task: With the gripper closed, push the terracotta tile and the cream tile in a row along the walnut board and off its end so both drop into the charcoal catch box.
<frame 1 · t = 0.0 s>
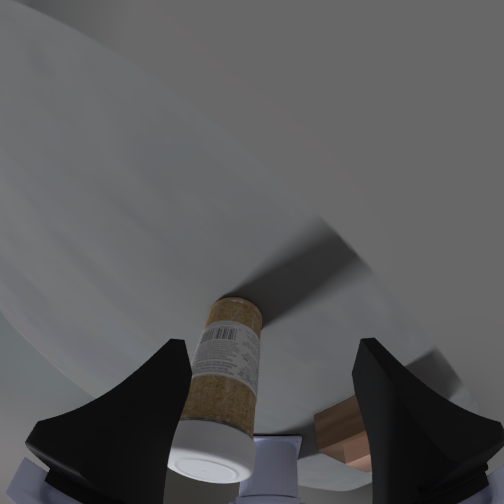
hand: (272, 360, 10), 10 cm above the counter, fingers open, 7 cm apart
walnut board: (374, 417, 26), on the counter
terracotta tile: (372, 441, 21), point 5 cm above the counter, touching walnut board
sprinkles bottle: (236, 316, 22), on the counter
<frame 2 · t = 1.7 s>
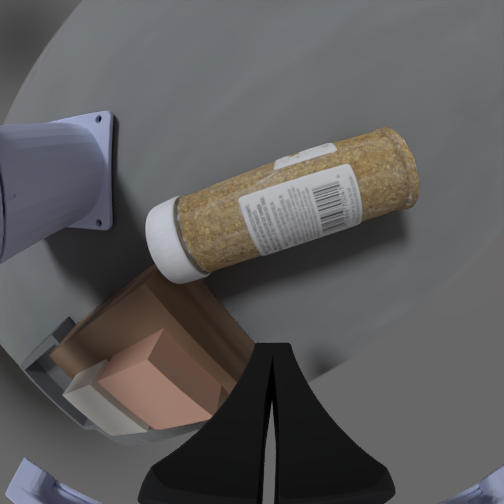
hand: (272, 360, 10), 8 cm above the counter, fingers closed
walnut board: (156, 339, 20), on the counter
terracotta tile: (164, 371, 15), point 5 cm above the counter, touching walnut board
sprinkles bottle: (403, 166, 12), point 2 cm above the counter
cream tile: (113, 390, 16), point 5 cm above the counter, touching walnut board
catch box: (81, 376, 24), on the counter
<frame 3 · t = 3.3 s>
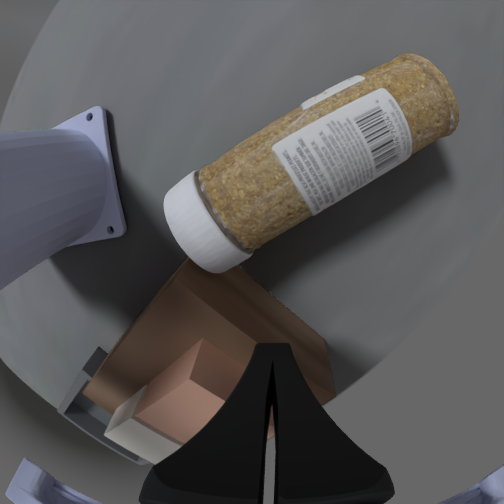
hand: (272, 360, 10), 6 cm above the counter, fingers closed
walnut board: (201, 351, 18), on the counter
terracotta tile: (213, 389, 12), point 5 cm above the counter, touching gripper
sprinkles bottle: (432, 92, 9), point 2 cm above the counter
cream tile: (162, 418, 14), point 5 cm above the counter, touching walnut board
catch box: (125, 410, 22), on the counter
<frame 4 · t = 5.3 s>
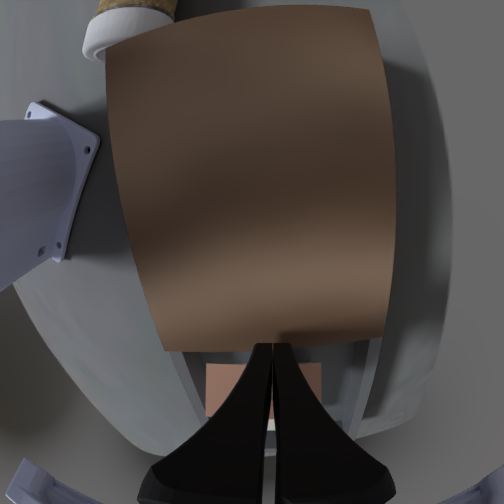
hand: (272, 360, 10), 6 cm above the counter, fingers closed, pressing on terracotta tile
walnut board: (259, 175, 13), on the counter
terracotta tile: (265, 365, 13), point 4 cm above the counter, tilted 44°, touching cream tile, gripper
catch box: (280, 378, 18), on the counter
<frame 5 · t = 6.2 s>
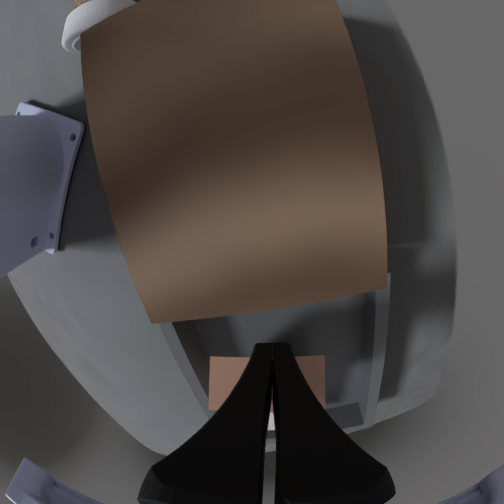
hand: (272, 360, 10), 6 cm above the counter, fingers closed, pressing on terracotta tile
walnut board: (239, 137, 13), on the counter
terracotta tile: (268, 361, 13), point 4 cm above the counter, tilted 41°, touching cream tile, gripper
catch box: (286, 358, 18), on the counter
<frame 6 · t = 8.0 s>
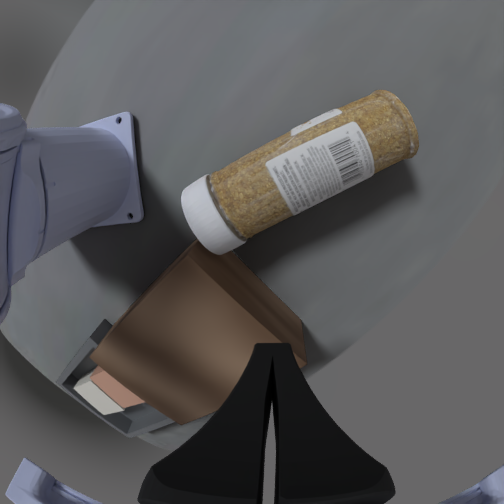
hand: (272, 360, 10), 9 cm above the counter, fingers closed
walnut board: (197, 325, 21), on the counter
terracotta tile: (127, 373, 24), point 1 cm above the counter, touching catch box
sprinkles bottle: (401, 121, 13), point 2 cm above the counter
cream tile: (97, 399, 23), point 3 cm above the counter, tilted 180°, touching catch box
catch box: (121, 381, 26), on the counter
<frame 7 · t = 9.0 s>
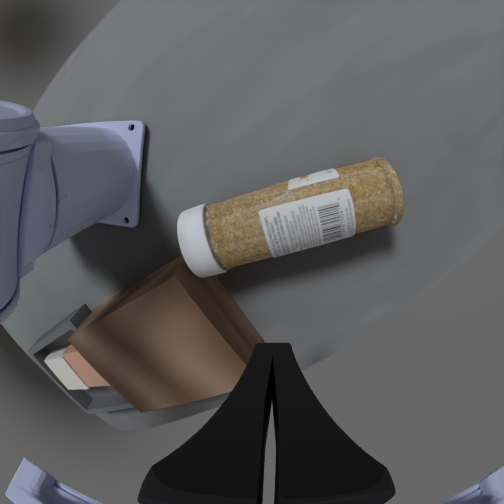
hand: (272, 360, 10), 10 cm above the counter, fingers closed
walnut board: (169, 326, 23), on the counter
terracotta tile: (97, 355, 25), point 1 cm above the counter, touching catch box
sprinkles bottle: (392, 190, 15), point 2 cm above the counter
cream tile: (65, 374, 24), point 3 cm above the counter, tilted 180°, touching catch box
catch box: (89, 361, 26), on the counter
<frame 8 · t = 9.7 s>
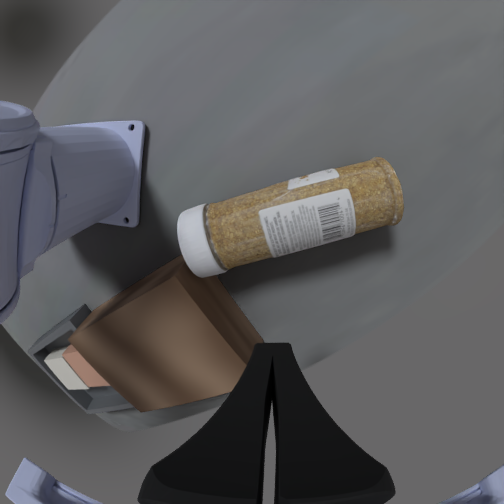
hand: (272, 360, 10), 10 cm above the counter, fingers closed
walnut board: (169, 326, 23), on the counter
terracotta tile: (97, 355, 25), point 1 cm above the counter, touching catch box
sprinkles bottle: (392, 190, 15), point 2 cm above the counter
cream tile: (65, 374, 24), point 3 cm above the counter, tilted 180°, touching catch box
catch box: (89, 361, 26), on the counter
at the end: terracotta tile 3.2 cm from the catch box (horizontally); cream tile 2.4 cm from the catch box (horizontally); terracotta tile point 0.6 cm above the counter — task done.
